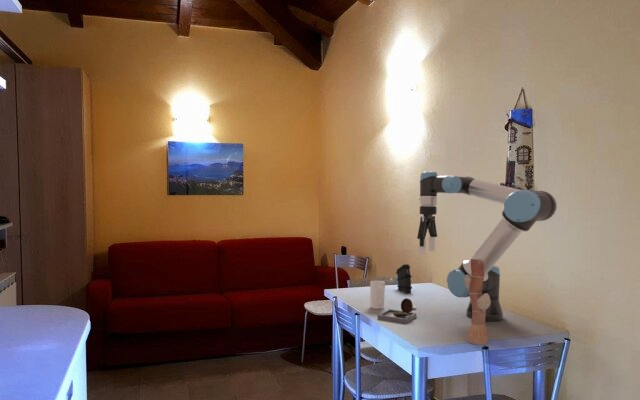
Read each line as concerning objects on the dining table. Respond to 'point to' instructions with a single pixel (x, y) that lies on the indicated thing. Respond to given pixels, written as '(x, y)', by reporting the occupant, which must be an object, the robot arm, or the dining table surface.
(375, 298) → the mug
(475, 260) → the brown tall piece
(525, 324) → the dining table surface
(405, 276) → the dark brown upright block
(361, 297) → the dining table surface
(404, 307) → the compass
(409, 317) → the grey square tray
